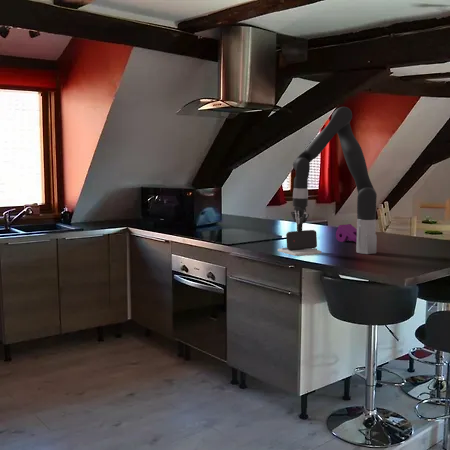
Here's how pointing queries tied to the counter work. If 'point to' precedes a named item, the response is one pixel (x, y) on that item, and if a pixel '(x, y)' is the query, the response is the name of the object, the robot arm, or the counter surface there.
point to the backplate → (299, 252)
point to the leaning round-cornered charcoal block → (301, 240)
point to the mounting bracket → (346, 233)
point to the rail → (301, 250)
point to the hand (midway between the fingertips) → (299, 230)
